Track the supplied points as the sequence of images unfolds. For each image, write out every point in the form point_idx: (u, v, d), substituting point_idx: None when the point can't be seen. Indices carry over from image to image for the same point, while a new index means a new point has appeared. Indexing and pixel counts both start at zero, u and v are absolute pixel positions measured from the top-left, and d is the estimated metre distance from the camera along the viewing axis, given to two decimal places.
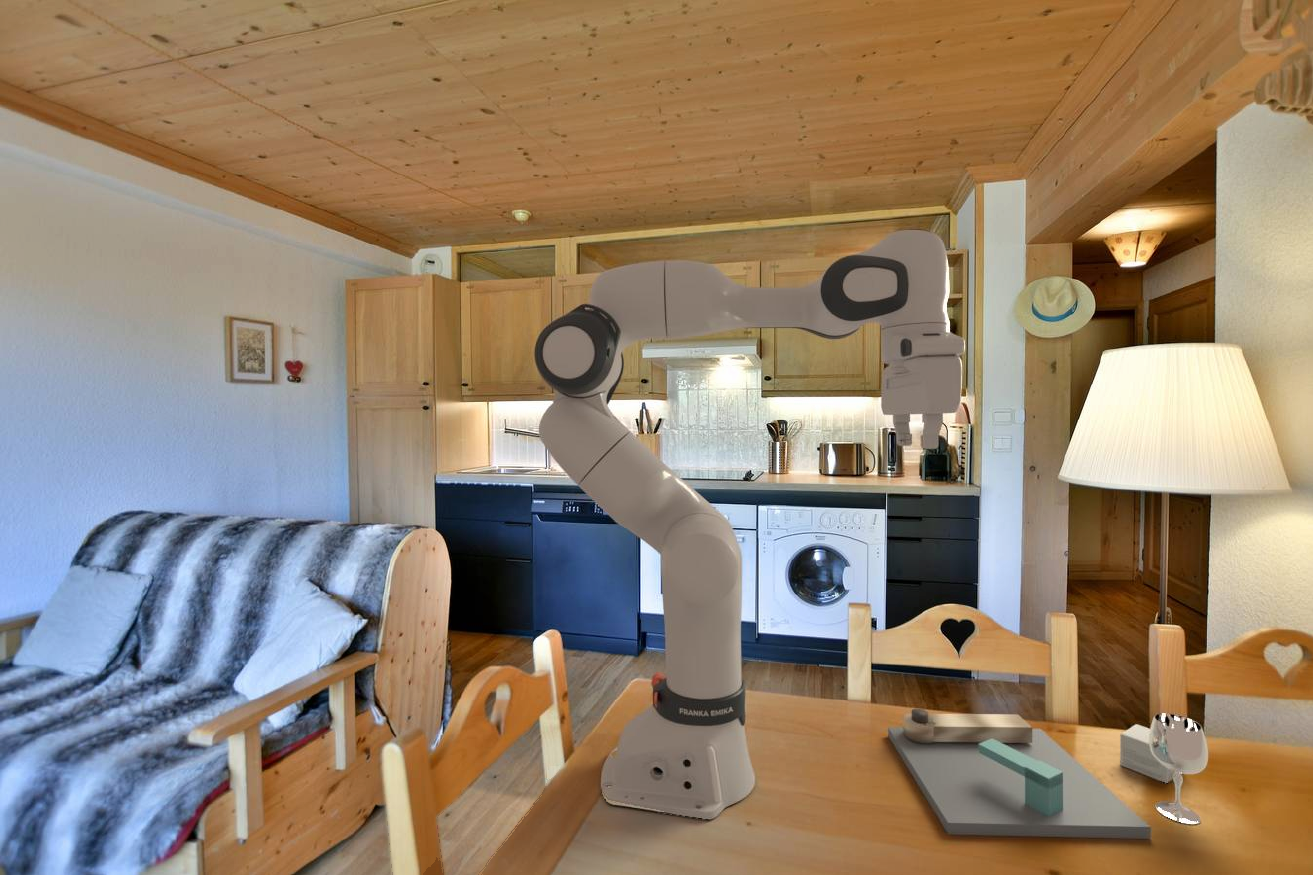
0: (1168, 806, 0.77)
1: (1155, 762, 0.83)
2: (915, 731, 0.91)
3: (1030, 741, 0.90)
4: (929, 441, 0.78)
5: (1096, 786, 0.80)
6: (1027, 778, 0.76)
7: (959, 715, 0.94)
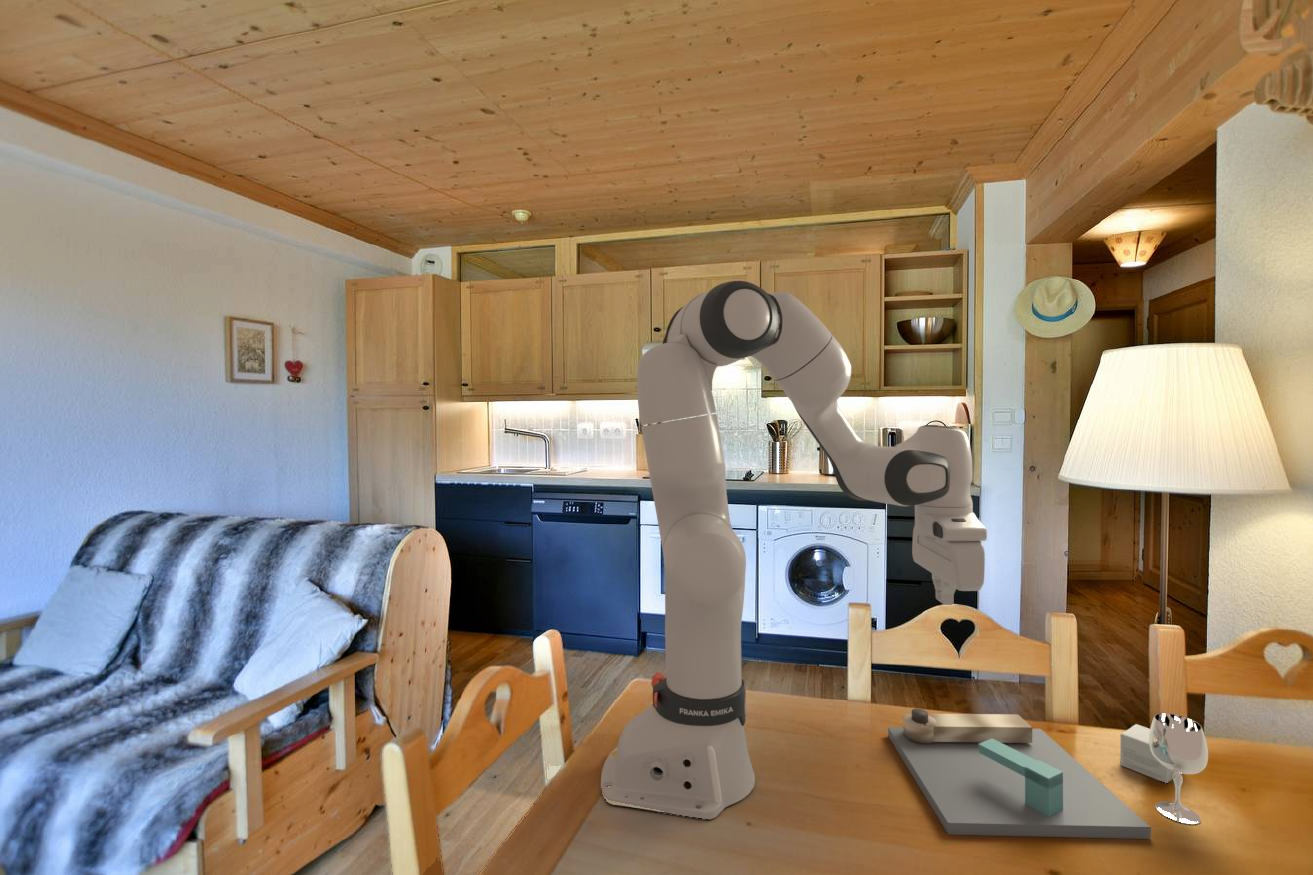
0: (1168, 806, 0.77)
1: (1155, 762, 0.83)
2: (915, 731, 0.91)
3: (1030, 741, 0.90)
4: (946, 599, 0.98)
5: (1096, 786, 0.80)
6: (1027, 778, 0.76)
7: (959, 715, 0.94)
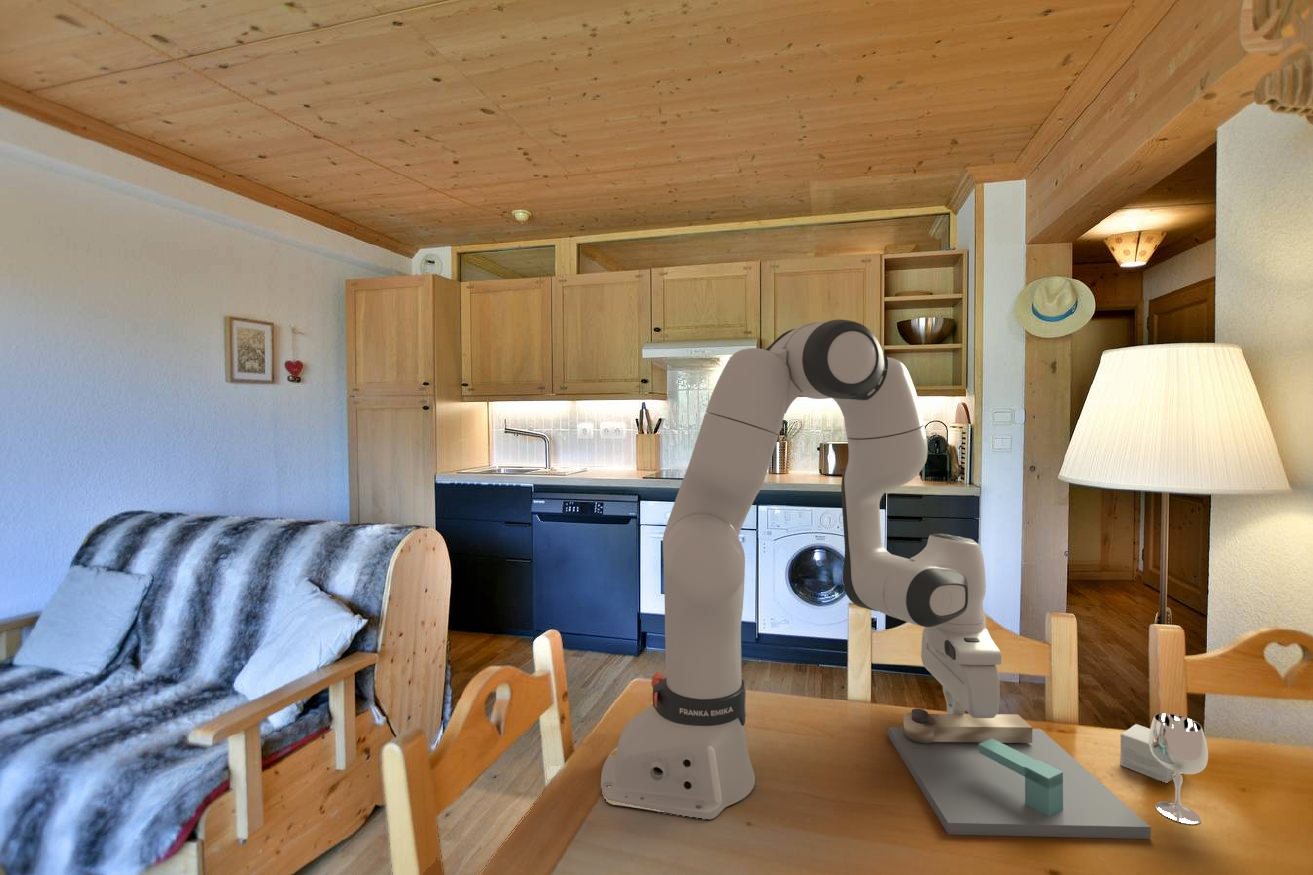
0: (1168, 806, 0.77)
1: (1156, 762, 0.83)
2: (915, 731, 0.91)
3: (1030, 741, 0.90)
4: None
5: (1096, 786, 0.80)
6: (1027, 778, 0.76)
7: (959, 715, 0.94)
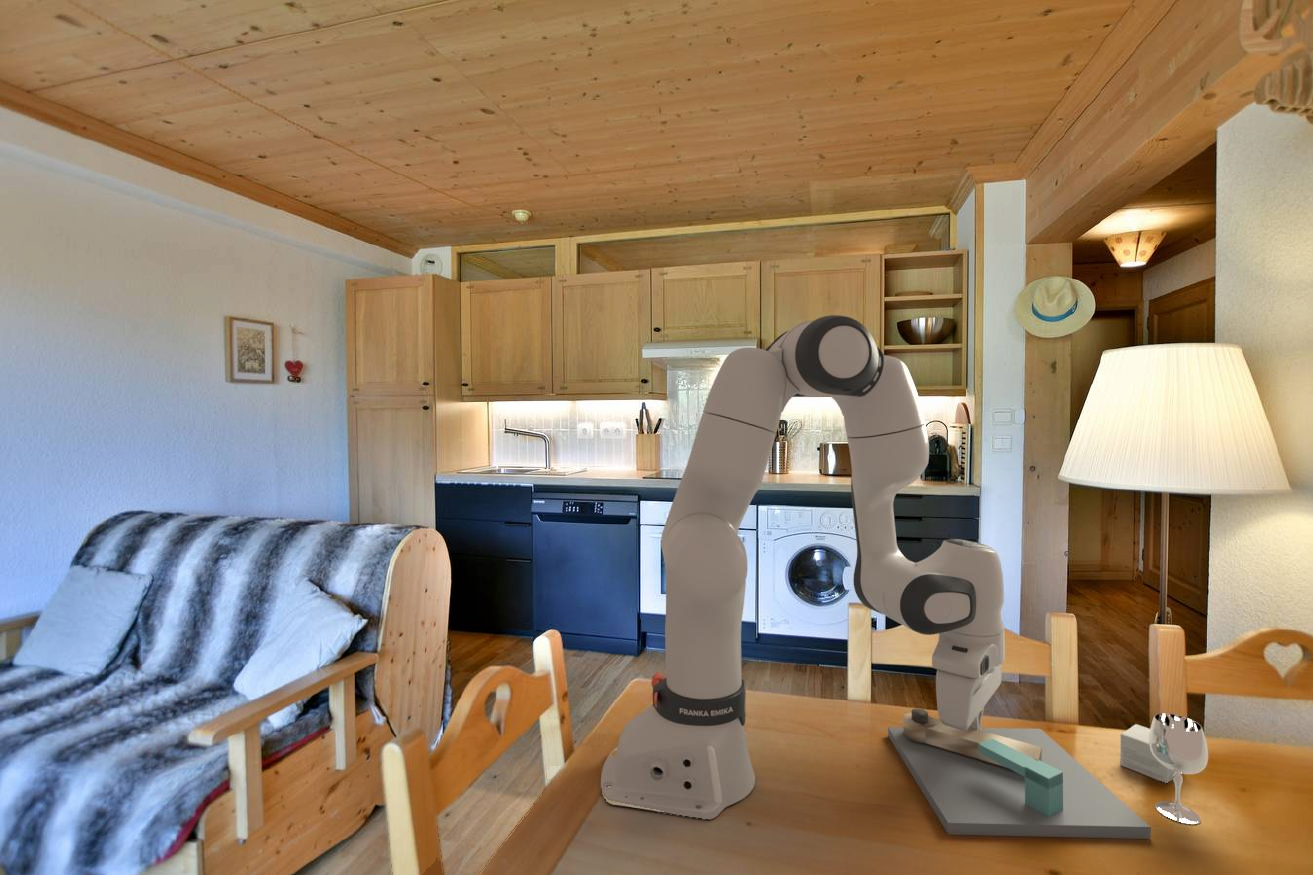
0: (1168, 806, 0.77)
1: (1156, 762, 0.83)
2: (906, 727, 0.93)
3: None
4: None
5: (1096, 786, 0.80)
6: (1027, 778, 0.76)
7: (969, 728, 0.90)
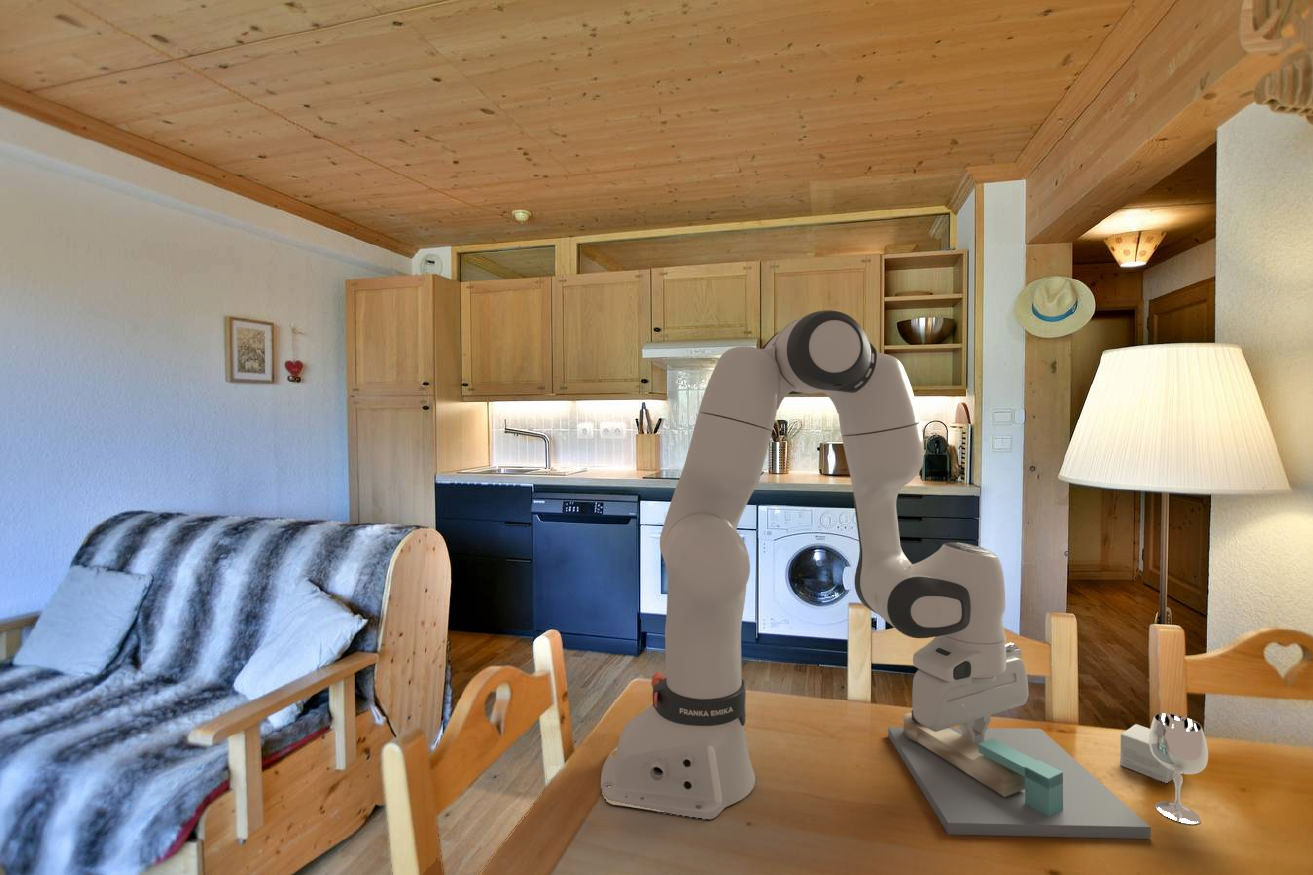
0: (1168, 806, 0.77)
1: (1156, 762, 0.83)
2: None
3: (1002, 793, 0.78)
4: None
5: (1096, 786, 0.80)
6: (1027, 778, 0.76)
7: (963, 738, 0.87)
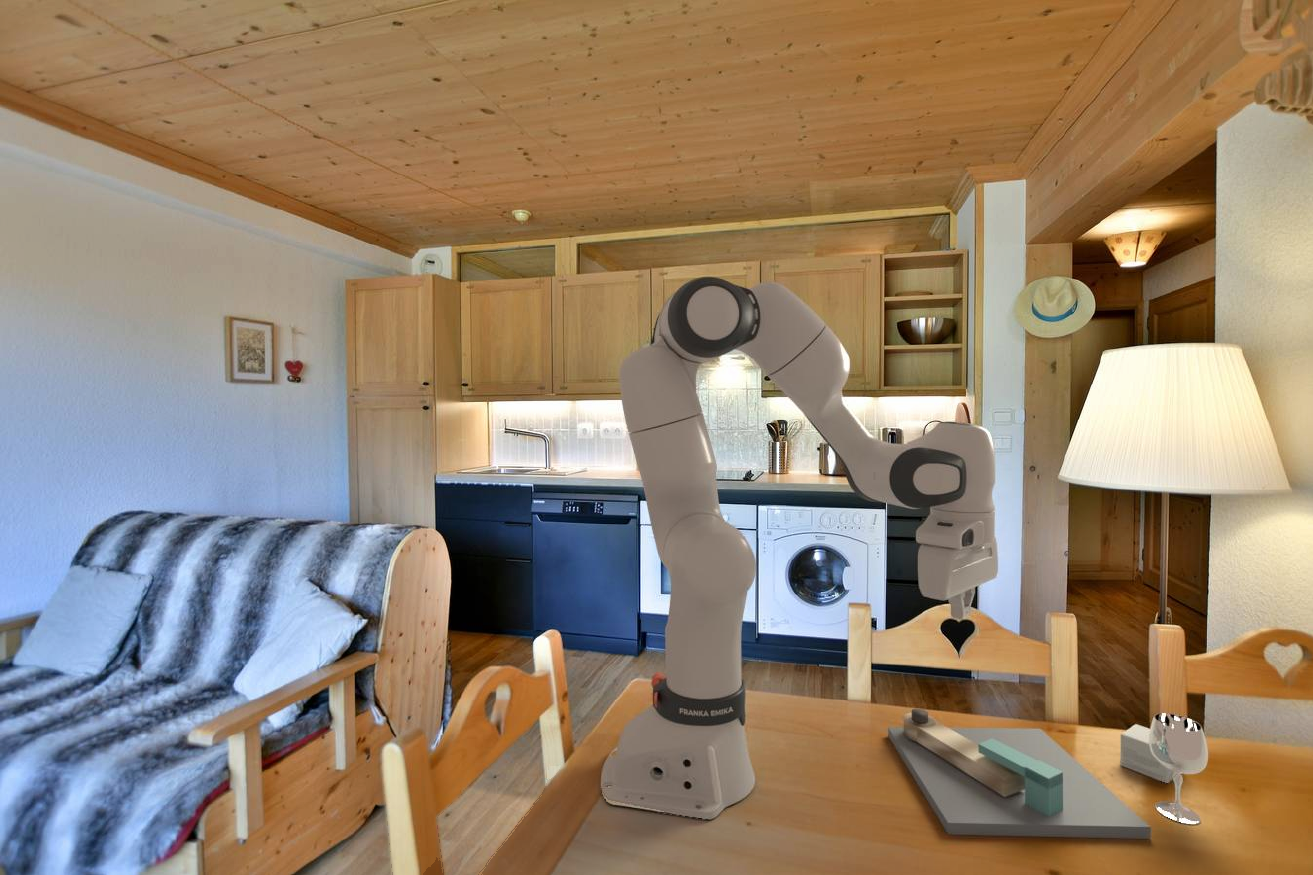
0: (1168, 806, 0.77)
1: (1156, 762, 0.83)
2: None
3: (1002, 794, 0.78)
4: (954, 611, 0.90)
5: (1096, 786, 0.80)
6: (1027, 778, 0.76)
7: (963, 738, 0.87)
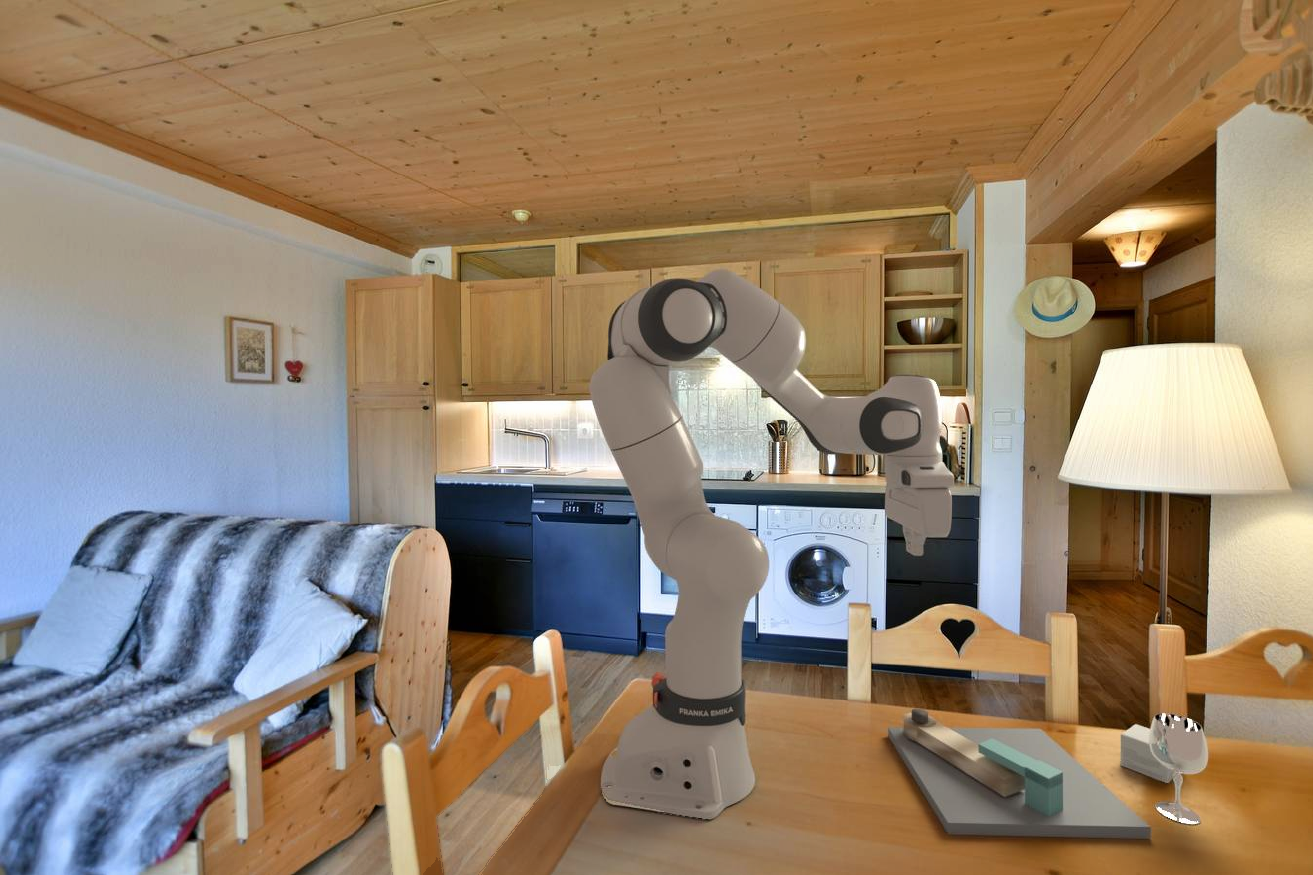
0: (1168, 806, 0.77)
1: (1156, 762, 0.83)
2: None
3: (1002, 794, 0.78)
4: (916, 549, 0.98)
5: (1096, 786, 0.80)
6: (1027, 778, 0.76)
7: (963, 738, 0.87)
